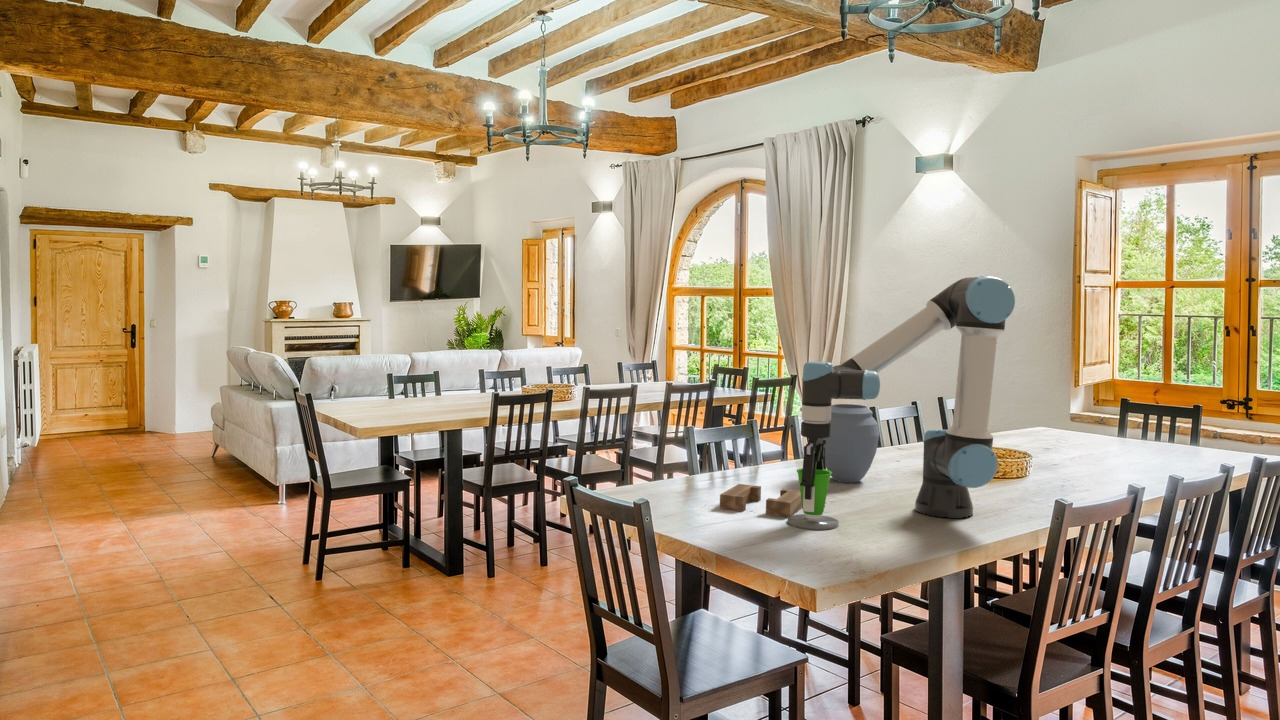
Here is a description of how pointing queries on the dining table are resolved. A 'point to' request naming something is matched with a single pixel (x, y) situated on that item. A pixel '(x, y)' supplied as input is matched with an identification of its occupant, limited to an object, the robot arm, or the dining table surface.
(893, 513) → the dining table surface
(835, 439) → the vase
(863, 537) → the dining table surface
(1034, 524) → the dining table surface
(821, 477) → the cup
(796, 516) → the coaster
